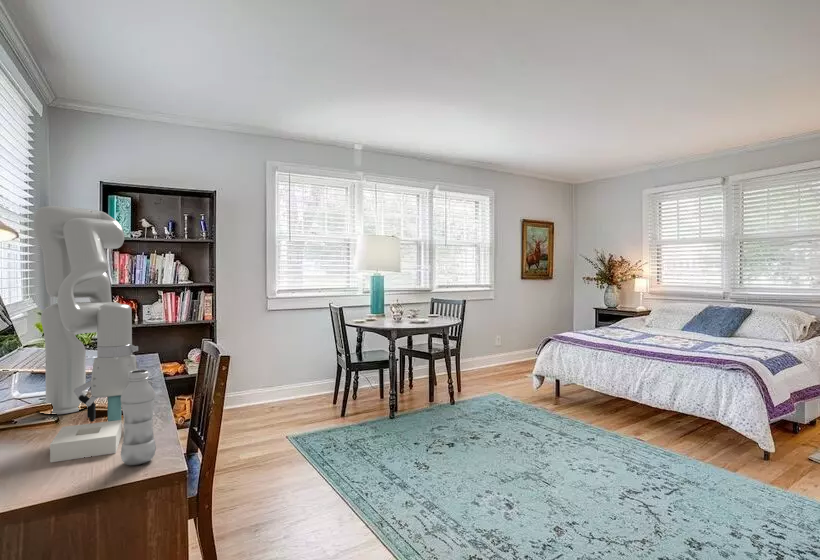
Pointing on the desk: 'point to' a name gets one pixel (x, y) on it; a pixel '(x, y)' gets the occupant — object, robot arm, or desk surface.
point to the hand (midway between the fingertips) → (115, 417)
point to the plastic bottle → (138, 419)
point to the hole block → (86, 440)
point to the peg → (114, 408)
